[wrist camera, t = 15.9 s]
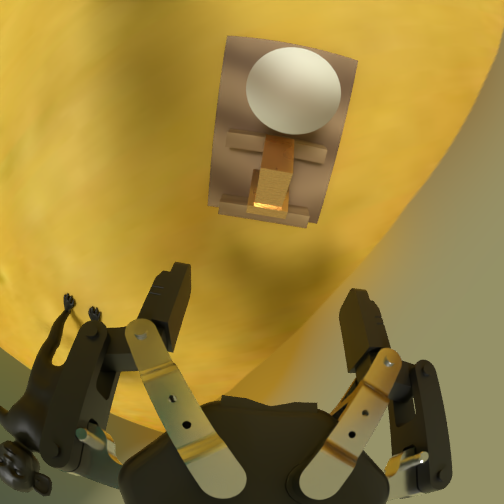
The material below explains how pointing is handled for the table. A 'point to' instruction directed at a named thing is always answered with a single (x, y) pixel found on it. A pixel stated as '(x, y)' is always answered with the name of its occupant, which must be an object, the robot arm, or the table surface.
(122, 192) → the table surface
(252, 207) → the tan wooden block
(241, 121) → the board
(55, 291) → the table surface
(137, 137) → the table surface
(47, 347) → the monkey
